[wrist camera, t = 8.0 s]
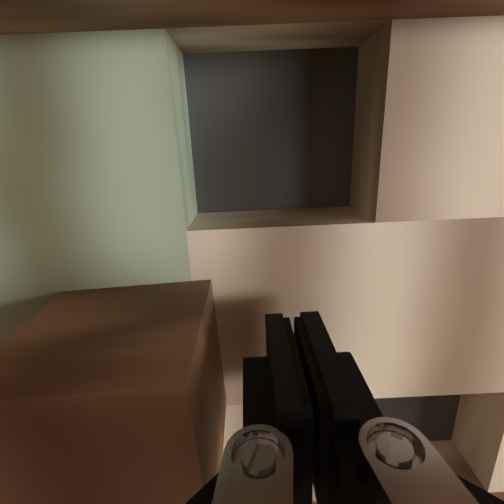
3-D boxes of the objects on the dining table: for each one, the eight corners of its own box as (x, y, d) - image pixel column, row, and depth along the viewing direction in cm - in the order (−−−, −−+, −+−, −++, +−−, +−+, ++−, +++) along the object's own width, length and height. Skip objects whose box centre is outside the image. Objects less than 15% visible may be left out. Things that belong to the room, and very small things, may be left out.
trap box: (763, -1, 11) (1202, -118, 6) (592, 442, 18) (736, 566, 13) (-57, 31, 11) (-322, -64, 6) (71, 468, 18) (-2, 605, 12)
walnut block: (211, 279, 11) (186, 385, 6) (226, 399, 13) (215, 555, 8) (61, 291, 11) (-76, 406, 6) (96, 409, 13) (8, 571, 8)
